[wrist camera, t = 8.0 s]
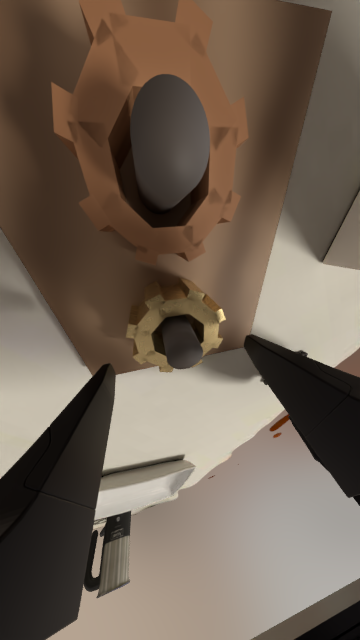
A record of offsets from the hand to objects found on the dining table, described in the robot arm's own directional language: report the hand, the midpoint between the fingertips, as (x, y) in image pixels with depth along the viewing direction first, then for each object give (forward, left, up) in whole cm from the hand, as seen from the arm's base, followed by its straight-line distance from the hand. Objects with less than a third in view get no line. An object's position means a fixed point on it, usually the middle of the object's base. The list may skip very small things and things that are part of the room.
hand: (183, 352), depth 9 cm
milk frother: (+31, +88, -6) cm, 94 cm away
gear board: (0, -4, -6) cm, 8 cm away
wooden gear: (0, 0, -5) cm, 5 cm away
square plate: (+15, +53, -7) cm, 55 cm away
